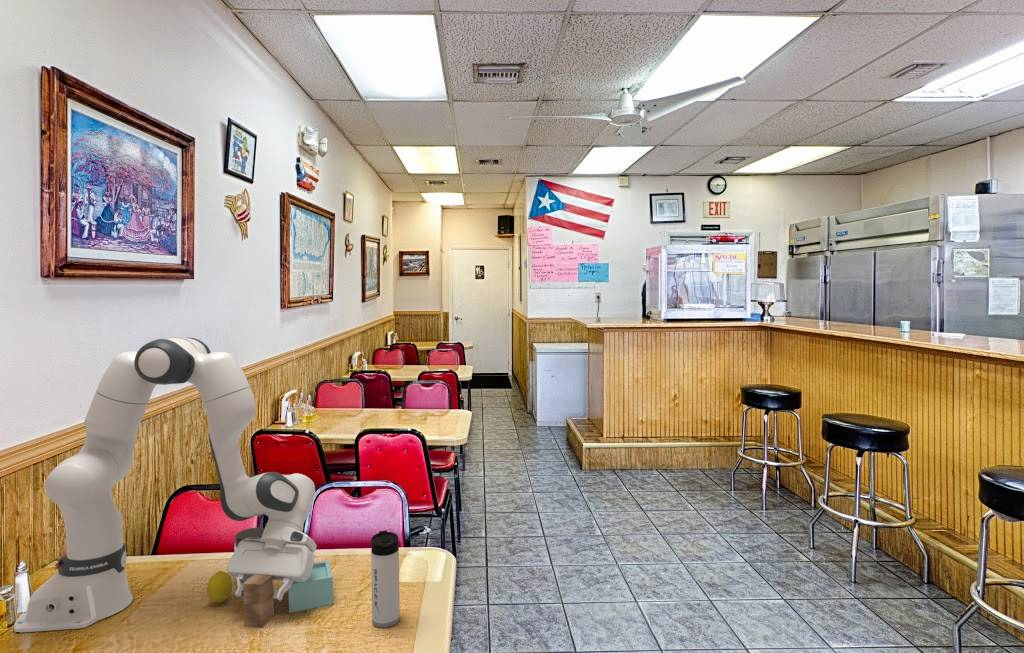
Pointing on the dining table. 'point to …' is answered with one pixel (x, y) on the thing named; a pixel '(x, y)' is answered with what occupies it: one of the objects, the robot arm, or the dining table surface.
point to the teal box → (312, 589)
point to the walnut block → (258, 600)
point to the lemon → (219, 586)
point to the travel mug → (385, 579)
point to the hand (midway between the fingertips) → (258, 598)
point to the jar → (248, 533)
